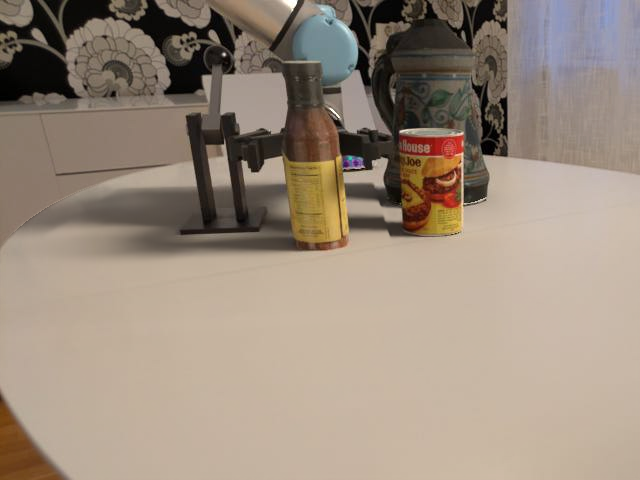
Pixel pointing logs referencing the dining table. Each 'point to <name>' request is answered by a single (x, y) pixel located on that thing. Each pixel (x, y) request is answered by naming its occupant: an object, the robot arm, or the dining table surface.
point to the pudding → (352, 162)
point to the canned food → (431, 181)
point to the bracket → (209, 215)
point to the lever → (215, 93)
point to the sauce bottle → (312, 162)
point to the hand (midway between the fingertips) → (311, 157)
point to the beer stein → (429, 97)
